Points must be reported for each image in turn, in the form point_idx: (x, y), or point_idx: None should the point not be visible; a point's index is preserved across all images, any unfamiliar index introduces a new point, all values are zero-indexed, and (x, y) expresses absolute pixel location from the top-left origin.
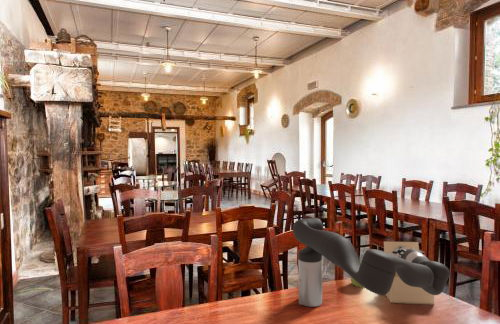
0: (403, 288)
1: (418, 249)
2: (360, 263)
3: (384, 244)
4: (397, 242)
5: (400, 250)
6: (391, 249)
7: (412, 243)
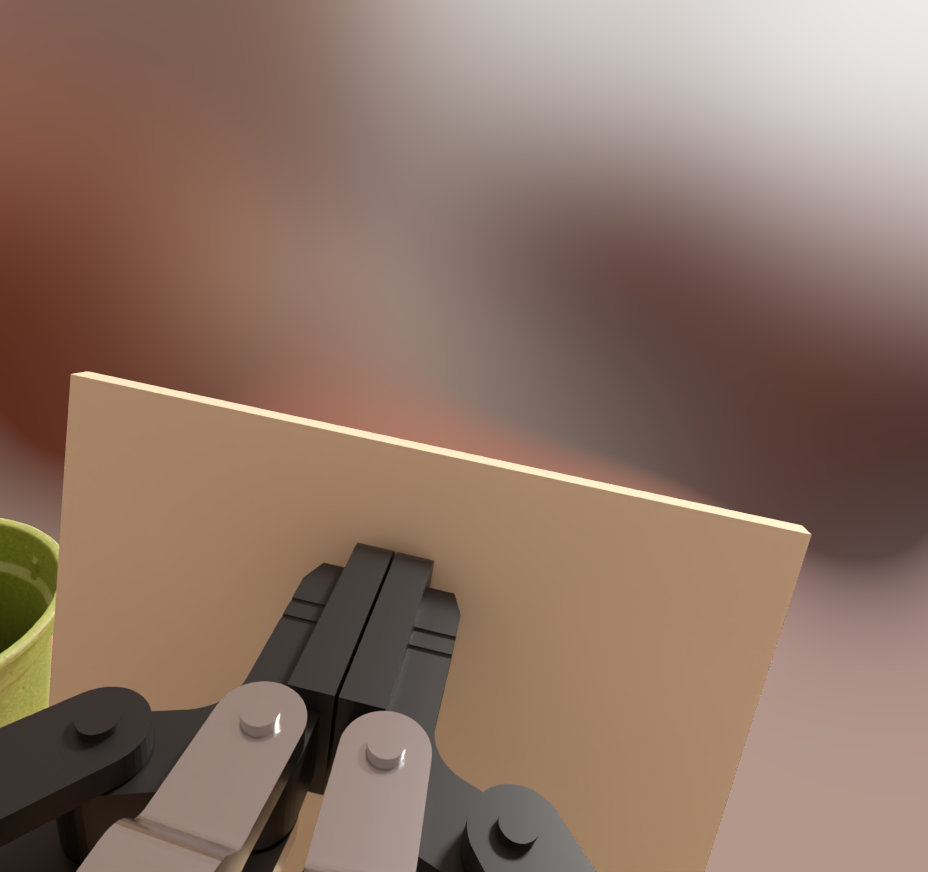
0: None
1: (751, 684)
2: (38, 548)
3: (71, 436)
4: (346, 448)
5: (125, 796)
6: (193, 562)
7: (665, 535)
